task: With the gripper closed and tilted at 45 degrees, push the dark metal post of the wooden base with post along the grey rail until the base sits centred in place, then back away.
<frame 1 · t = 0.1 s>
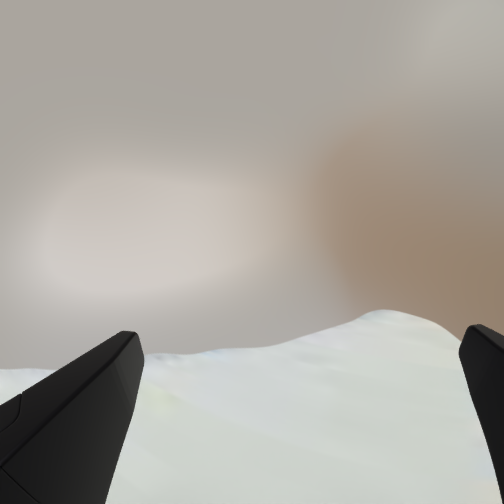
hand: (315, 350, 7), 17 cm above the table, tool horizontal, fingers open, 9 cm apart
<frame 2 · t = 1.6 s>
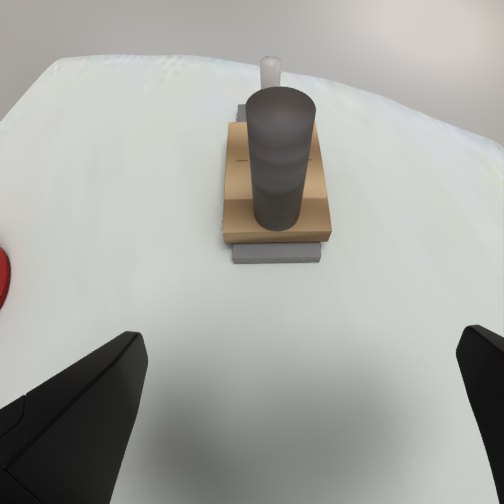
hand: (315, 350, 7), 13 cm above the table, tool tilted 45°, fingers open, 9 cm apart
rail: (274, 191, 25), on the table
wooden base with post: (275, 133, 19), point 7 cm above the table, slide at 0.0 cm
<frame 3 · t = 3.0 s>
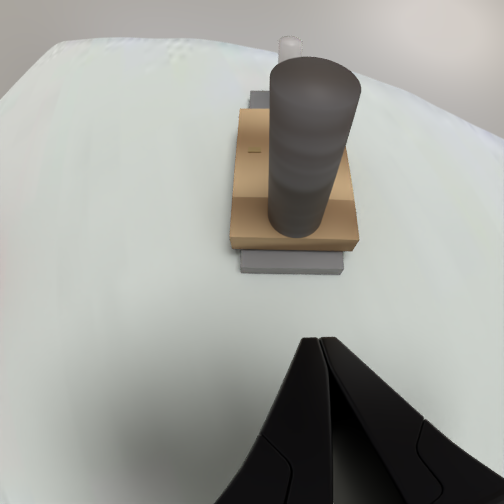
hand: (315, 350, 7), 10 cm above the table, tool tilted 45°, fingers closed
rail: (289, 189, 21), on the table
wooden base with post: (298, 120, 15), point 7 cm above the table, slide at 0.0 cm
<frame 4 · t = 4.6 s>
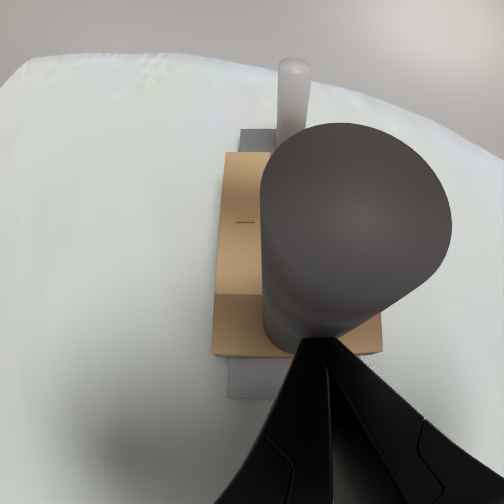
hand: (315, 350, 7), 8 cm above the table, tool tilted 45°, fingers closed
rail: (292, 279, 16), on the table
wooden base with post: (307, 193, 11), point 7 cm above the table, slide at 0.9 cm, touching gripper
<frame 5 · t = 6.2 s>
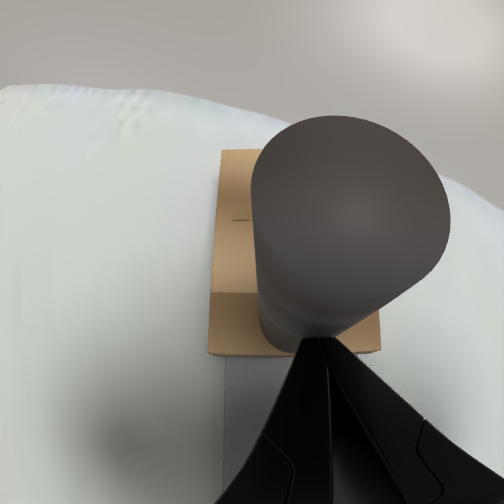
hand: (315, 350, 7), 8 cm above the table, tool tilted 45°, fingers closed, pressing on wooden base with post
rail: (290, 404, 14), on the table
wooden base with post: (303, 190, 10), point 7 cm above the table, slide at 7.3 cm, touching gripper
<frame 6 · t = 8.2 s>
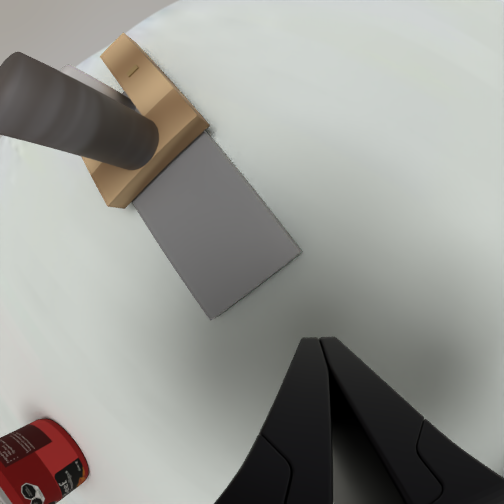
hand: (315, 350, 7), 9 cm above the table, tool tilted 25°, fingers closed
rail: (195, 200, 18), on the table
canned food: (64, 448, 24), on the table
wooden base with post: (70, 86, 13), point 7 cm above the table, slide at 7.3 cm
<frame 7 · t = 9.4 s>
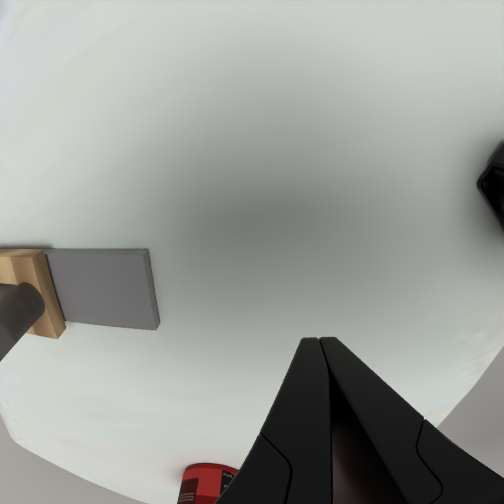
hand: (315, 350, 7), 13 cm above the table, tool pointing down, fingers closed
rail: (84, 284, 22), on the table
canned food: (215, 474, 33), on the table
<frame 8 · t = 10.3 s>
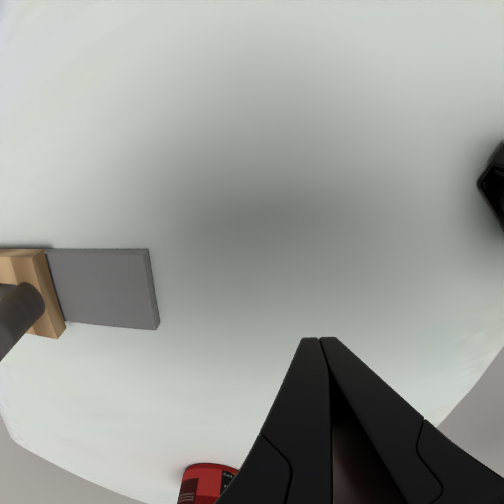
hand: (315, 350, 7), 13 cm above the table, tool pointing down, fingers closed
rail: (84, 284, 22), on the table
canned food: (215, 474, 33), on the table
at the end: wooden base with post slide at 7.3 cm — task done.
